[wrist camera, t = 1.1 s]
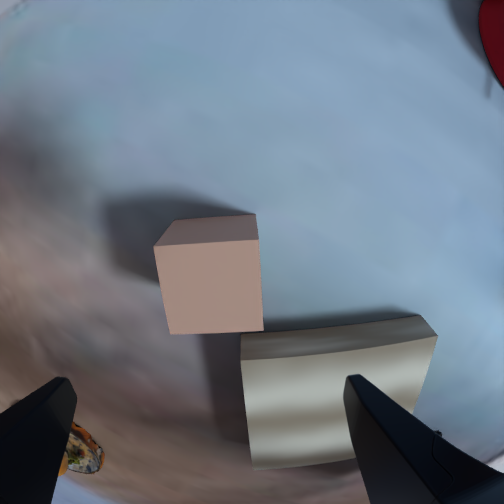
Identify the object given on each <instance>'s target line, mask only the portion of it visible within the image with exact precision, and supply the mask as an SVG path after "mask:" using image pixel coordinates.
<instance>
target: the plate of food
mask: <svg viewBox="0 0 504 504" xmlns="http://www.w3.org/2000/svg"><path fill="white" fill-rule="evenodd" d="M74 423H75V422H72V427H71V431H70V436H69V440H68V443H67V446H66V450H65V453H64V456H63V460H62V463H61V467H60V471H59V474H58V476H61V475H63V474H64V473H65V472H66V471H67V469H69V470H72V471H75V472H80V473H85V474H94V473H95V472H96V471H97V472H98V471H99V469H101V468H102V465H103V462H104V452H103V451H102V448H100V449H99V447H98V445H97V444H96V445H95V444H94V442H93V441H92V437H91V435H90V434H89V433H87V432H86V431H85V429H83V428H78V427H76V426H75V424H74Z"/></svg>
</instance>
